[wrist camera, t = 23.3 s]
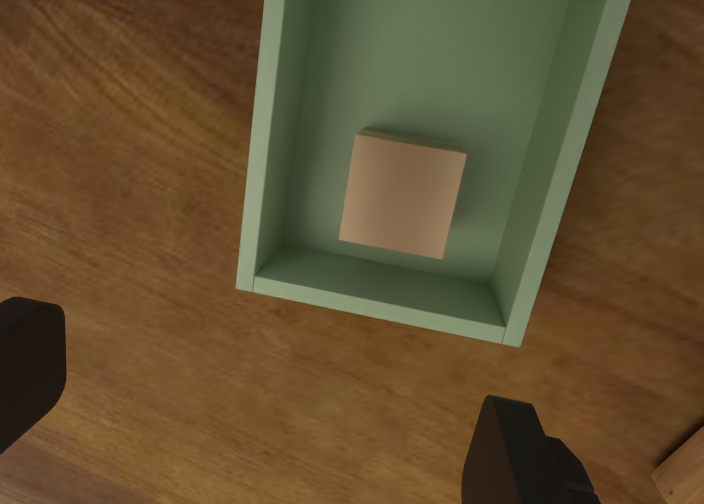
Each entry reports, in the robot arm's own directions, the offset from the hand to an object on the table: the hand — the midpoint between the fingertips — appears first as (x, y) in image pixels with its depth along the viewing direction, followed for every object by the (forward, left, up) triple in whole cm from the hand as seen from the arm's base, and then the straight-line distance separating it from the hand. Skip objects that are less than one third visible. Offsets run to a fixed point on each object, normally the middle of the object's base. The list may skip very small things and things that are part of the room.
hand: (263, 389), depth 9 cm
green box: (+2, +4, -17) cm, 18 cm away
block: (+2, +2, -17) cm, 17 cm away
